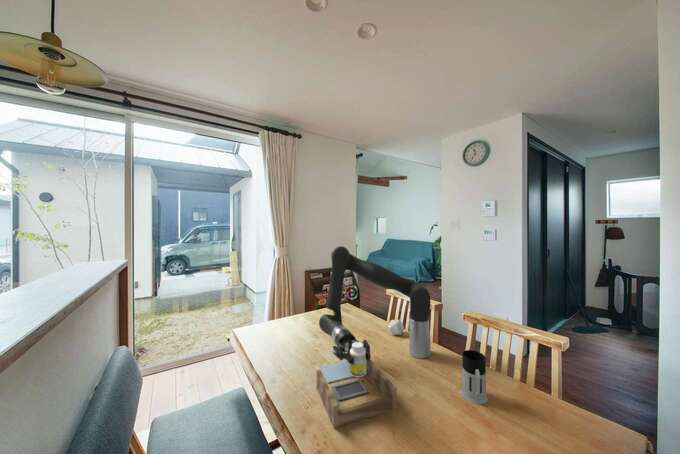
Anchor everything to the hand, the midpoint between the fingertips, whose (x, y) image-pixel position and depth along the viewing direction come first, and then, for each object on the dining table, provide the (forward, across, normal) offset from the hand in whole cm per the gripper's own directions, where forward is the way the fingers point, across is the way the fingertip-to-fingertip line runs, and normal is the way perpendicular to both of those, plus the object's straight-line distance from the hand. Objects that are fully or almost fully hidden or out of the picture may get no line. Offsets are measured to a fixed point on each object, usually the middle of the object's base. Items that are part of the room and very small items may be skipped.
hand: (361, 359), depth 86 cm
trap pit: (-10, 0, +17) cm, 20 cm away
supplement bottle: (-3, 0, +6) cm, 7 cm away
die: (-45, +43, +18) cm, 64 cm away
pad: (-23, 0, +17) cm, 29 cm away
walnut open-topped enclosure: (-6, 0, +17) cm, 18 cm away
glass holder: (+11, +39, +18) cm, 45 cm away
